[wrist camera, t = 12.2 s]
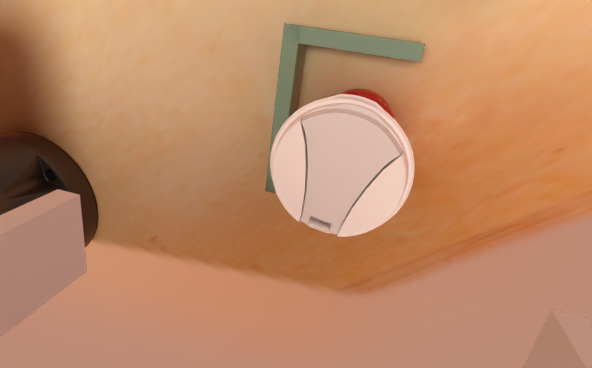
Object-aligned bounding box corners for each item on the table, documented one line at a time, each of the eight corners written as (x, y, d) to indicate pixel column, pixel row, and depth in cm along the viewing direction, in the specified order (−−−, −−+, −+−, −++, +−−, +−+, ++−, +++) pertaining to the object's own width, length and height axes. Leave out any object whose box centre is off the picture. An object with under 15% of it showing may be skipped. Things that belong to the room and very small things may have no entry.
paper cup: (385, 178, 33) (381, 265, 20) (302, 149, 34) (248, 215, 21) (422, 90, 30) (444, 128, 17) (329, 60, 31) (285, 75, 18)
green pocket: (275, 179, 35) (265, 190, 33) (294, 24, 30) (284, 23, 28) (382, 202, 34) (381, 216, 31) (421, 43, 29) (425, 43, 26)
